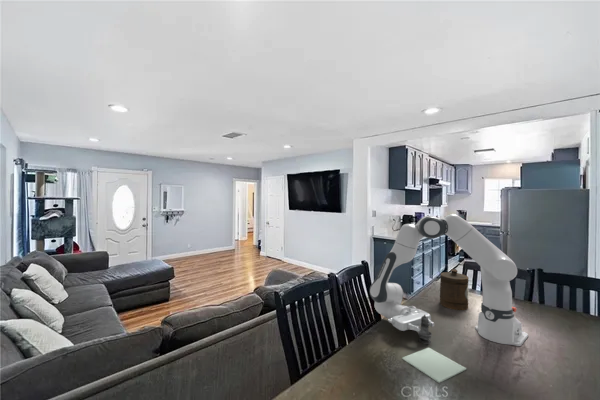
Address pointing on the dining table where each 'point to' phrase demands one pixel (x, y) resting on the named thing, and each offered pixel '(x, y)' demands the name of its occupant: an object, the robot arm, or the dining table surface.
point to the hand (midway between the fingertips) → (426, 327)
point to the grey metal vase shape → (424, 331)
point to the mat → (434, 364)
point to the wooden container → (454, 290)
